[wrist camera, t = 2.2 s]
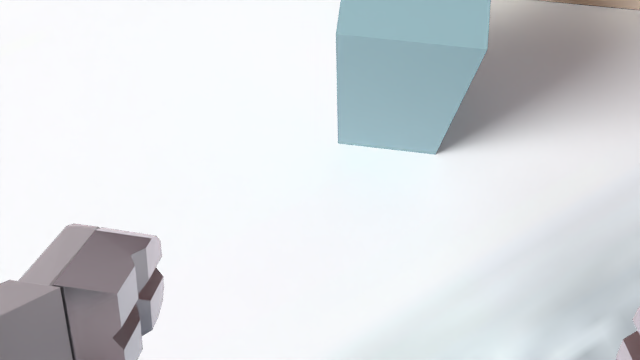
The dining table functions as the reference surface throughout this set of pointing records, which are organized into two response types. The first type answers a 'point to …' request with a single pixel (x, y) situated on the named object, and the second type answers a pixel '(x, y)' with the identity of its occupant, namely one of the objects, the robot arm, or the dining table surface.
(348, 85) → the teal block
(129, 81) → the dining table surface
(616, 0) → the plinth
